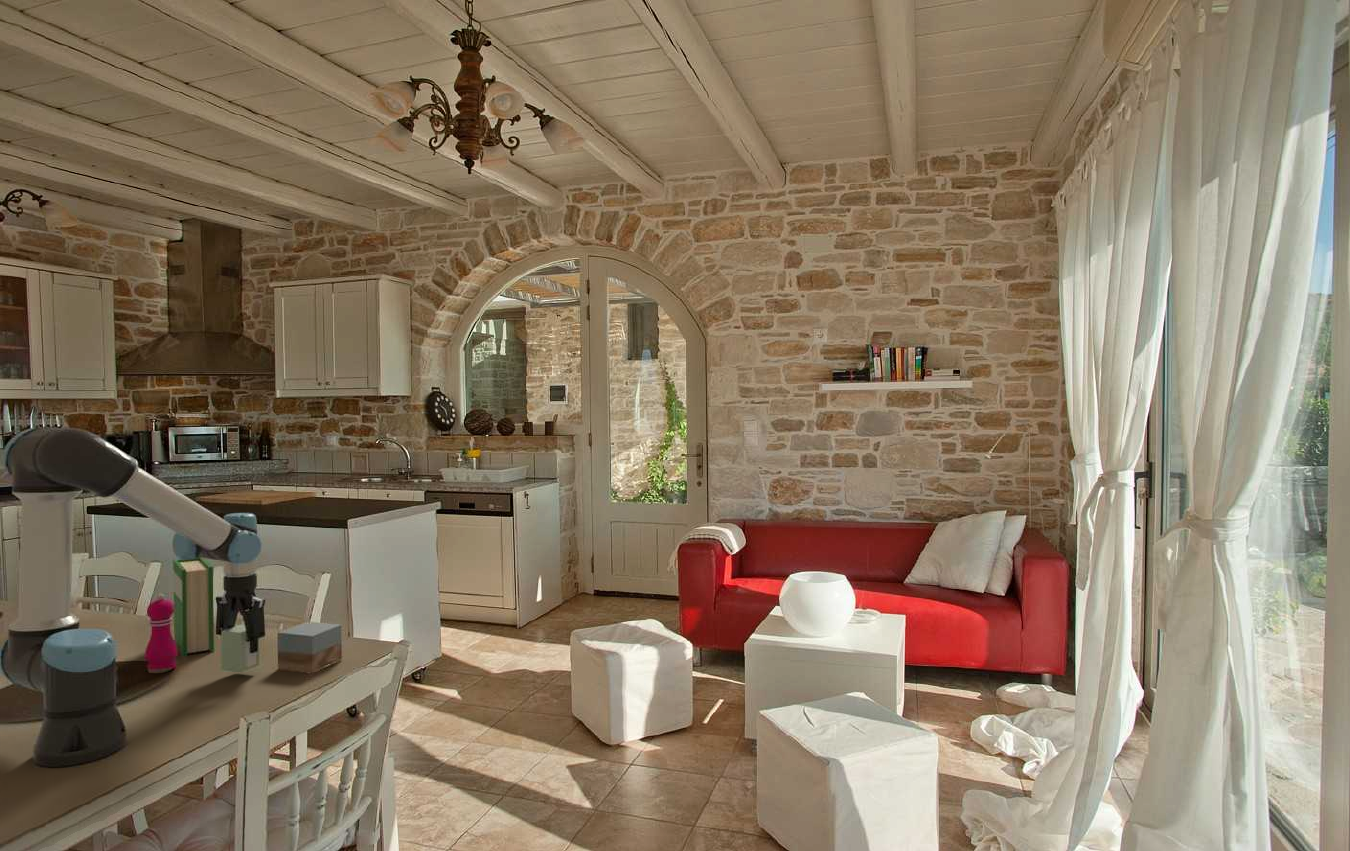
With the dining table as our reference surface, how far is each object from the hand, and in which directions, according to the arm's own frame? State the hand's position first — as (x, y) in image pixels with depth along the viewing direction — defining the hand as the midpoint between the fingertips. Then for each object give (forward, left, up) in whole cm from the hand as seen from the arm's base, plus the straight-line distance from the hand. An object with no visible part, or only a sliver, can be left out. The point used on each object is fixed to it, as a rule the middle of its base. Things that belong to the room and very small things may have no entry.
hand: (240, 663), depth 204 cm
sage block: (0, 0, -1) cm, 1 cm away
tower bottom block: (+12, -11, -3) cm, 17 cm away
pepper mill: (-3, +23, -3) cm, 23 cm away
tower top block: (+12, -11, +2) cm, 17 cm away
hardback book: (+15, +32, -3) cm, 36 cm away
